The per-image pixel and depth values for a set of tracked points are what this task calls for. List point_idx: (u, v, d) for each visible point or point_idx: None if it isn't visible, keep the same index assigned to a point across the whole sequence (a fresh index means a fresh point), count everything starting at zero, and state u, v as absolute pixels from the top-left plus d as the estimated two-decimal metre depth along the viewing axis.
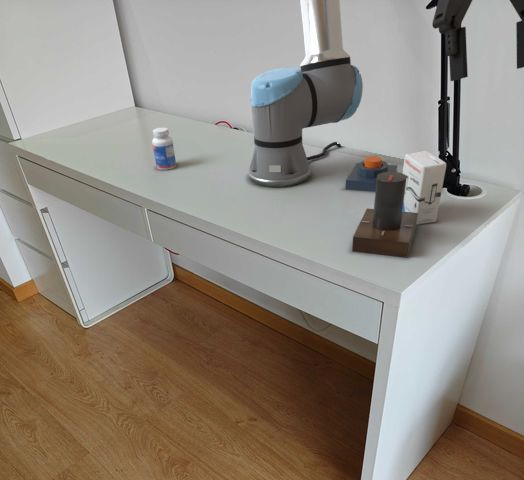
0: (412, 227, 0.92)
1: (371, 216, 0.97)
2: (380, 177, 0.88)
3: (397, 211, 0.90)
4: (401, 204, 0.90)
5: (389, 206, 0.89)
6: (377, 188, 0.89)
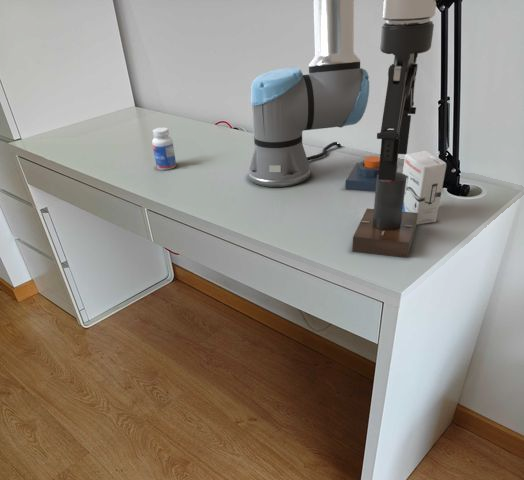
0: (412, 227, 0.92)
1: (371, 216, 0.97)
2: None
3: (397, 211, 0.90)
4: (401, 204, 0.90)
5: (389, 206, 0.89)
6: (377, 188, 0.89)
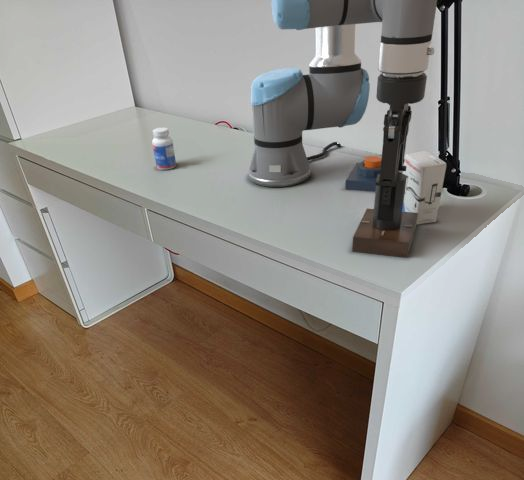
0: (412, 227, 0.92)
1: (371, 216, 0.97)
2: None
3: (397, 211, 0.90)
4: (401, 204, 0.90)
5: None
6: (377, 188, 0.89)
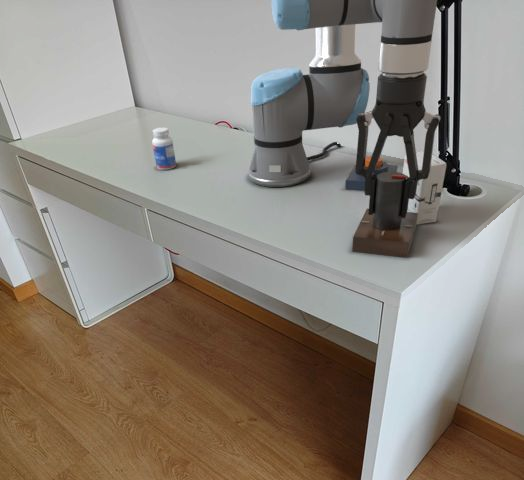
0: (412, 227, 0.92)
1: (371, 216, 0.97)
2: (394, 180, 0.87)
3: None
4: None
5: None
6: (397, 191, 0.87)
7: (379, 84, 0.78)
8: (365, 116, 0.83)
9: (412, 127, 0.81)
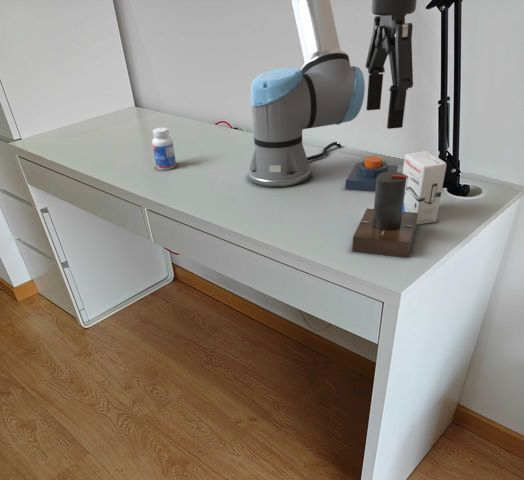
0: (412, 227, 0.92)
1: (371, 216, 0.97)
2: (394, 180, 0.87)
3: None
4: None
5: (403, 201, 0.91)
6: (397, 191, 0.87)
7: None
8: (380, 20, 0.93)
9: (389, 41, 0.88)
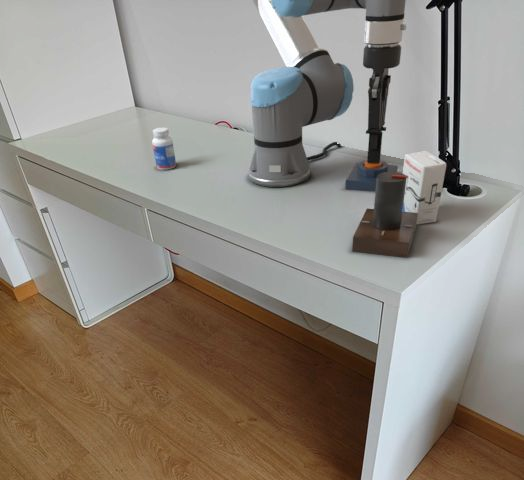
0: (412, 227, 0.92)
1: (371, 216, 0.97)
2: (394, 180, 0.87)
3: None
4: None
5: (403, 201, 0.91)
6: (397, 191, 0.87)
7: None
8: None
9: None
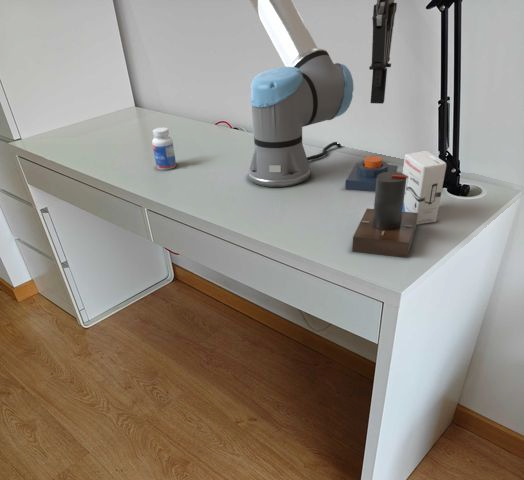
0: (412, 227, 0.92)
1: (371, 216, 0.97)
2: (394, 180, 0.87)
3: None
4: None
5: (403, 201, 0.91)
6: (397, 191, 0.87)
7: None
8: None
9: None
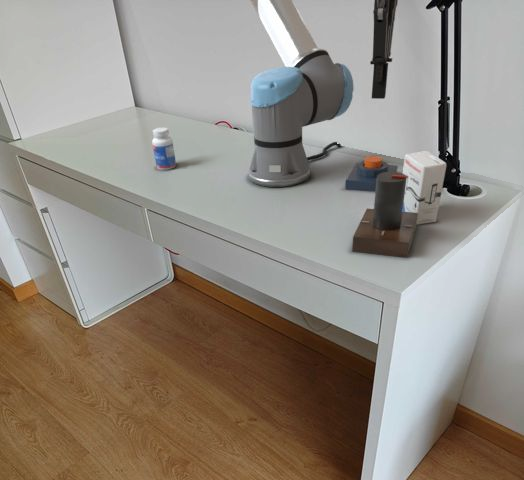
0: (412, 227, 0.92)
1: (371, 216, 0.97)
2: (394, 180, 0.87)
3: None
4: None
5: (403, 201, 0.91)
6: (397, 191, 0.87)
7: None
8: None
9: None
